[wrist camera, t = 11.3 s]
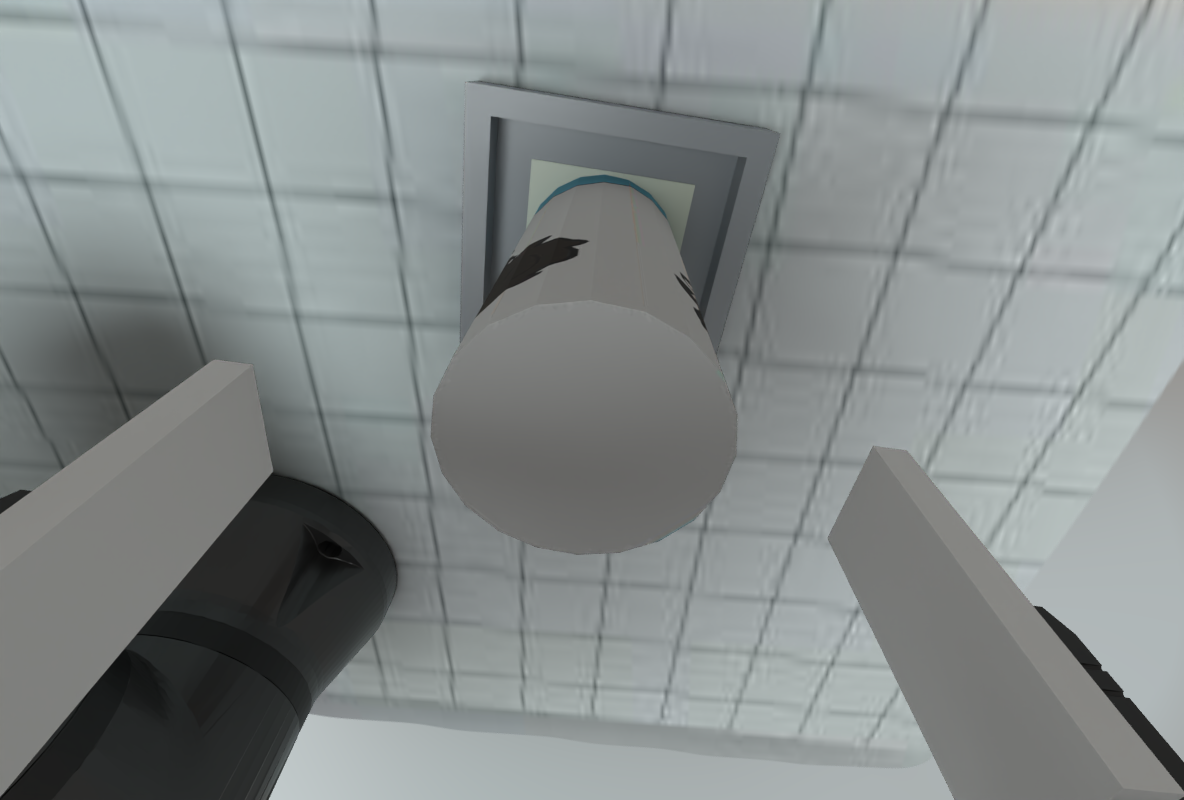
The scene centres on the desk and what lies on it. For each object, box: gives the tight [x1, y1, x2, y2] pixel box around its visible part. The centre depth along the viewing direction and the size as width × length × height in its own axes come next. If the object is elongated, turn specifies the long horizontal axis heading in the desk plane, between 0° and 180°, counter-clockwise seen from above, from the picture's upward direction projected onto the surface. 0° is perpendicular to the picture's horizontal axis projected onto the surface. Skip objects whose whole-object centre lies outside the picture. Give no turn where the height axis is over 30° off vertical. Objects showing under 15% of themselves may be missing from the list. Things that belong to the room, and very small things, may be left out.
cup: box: [431, 174, 737, 555], centre depth 19 cm, size 7×7×15 cm
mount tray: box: [460, 81, 780, 354], centre depth 25 cm, size 12×12×2 cm
